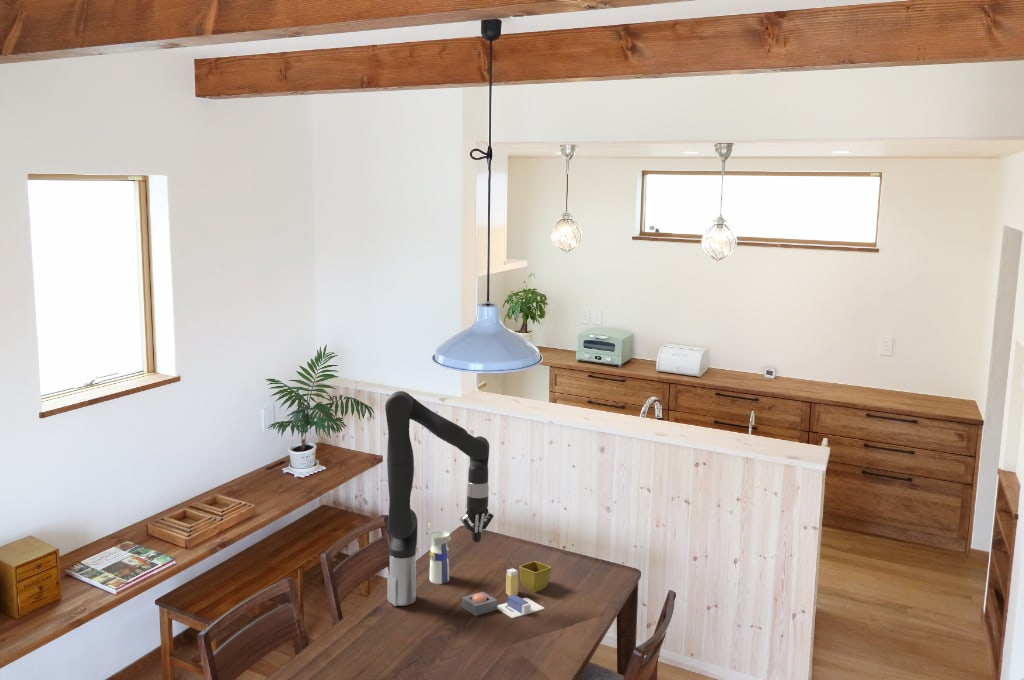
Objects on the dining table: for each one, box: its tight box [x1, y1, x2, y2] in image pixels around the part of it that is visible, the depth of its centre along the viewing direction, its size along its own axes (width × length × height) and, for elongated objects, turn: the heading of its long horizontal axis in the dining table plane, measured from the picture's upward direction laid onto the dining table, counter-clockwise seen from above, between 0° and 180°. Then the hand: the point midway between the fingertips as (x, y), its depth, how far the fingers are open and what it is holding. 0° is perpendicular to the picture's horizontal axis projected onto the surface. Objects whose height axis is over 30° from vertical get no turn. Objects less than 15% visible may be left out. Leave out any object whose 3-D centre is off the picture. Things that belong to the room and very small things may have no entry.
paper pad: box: [497, 597, 546, 619], centre depth 297 cm, size 14×11×1 cm
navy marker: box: [506, 594, 531, 615], centre depth 296 cm, size 3×3×10 cm
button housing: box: [461, 591, 498, 617], centre depth 296 cm, size 9×9×4 cm
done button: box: [472, 593, 487, 603], centre depth 296 cm, size 5×5×4 cm
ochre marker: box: [505, 567, 519, 596], centre depth 308 cm, size 3×3×10 cm
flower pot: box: [518, 560, 552, 593], centre depth 313 cm, size 9×9×9 cm
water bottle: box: [427, 519, 452, 585], centre depth 316 cm, size 8×9×25 cm
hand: (476, 541), depth 298 cm, fingers closed
